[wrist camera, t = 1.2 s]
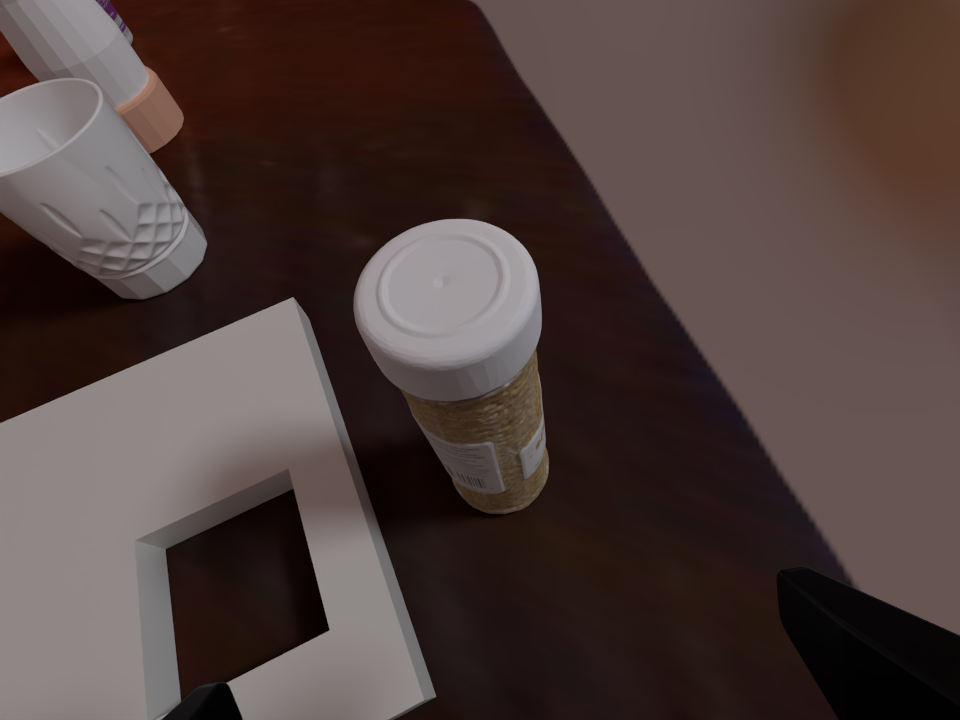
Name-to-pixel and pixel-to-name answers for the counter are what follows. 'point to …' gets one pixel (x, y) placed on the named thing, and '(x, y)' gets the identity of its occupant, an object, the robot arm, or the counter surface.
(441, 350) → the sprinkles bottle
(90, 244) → the white cup
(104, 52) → the pepper shaker
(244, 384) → the block
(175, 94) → the counter surface
